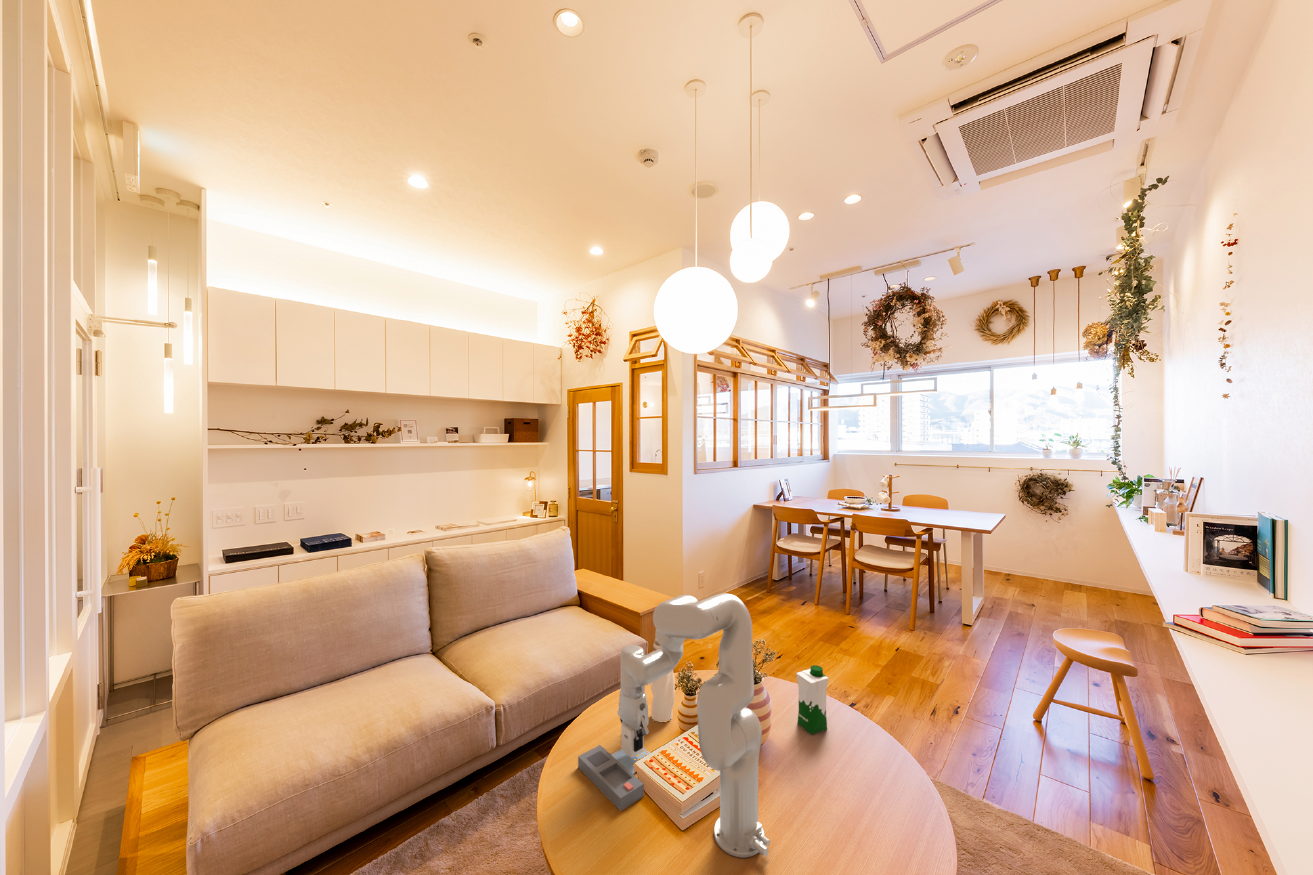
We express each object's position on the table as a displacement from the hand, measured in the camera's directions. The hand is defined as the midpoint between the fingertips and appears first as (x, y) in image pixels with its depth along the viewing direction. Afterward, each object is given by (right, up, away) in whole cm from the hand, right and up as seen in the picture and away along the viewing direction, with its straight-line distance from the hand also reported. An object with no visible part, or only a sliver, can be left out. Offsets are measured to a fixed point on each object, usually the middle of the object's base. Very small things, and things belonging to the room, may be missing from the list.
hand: (632, 744), depth 147 cm
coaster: (0, -5, 0) cm, 5 cm away
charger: (0, -2, 0) cm, 2 cm away
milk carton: (+62, -4, +16) cm, 64 cm away
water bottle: (+9, -5, +21) cm, 24 cm away
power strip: (-6, -5, -10) cm, 12 cm away
